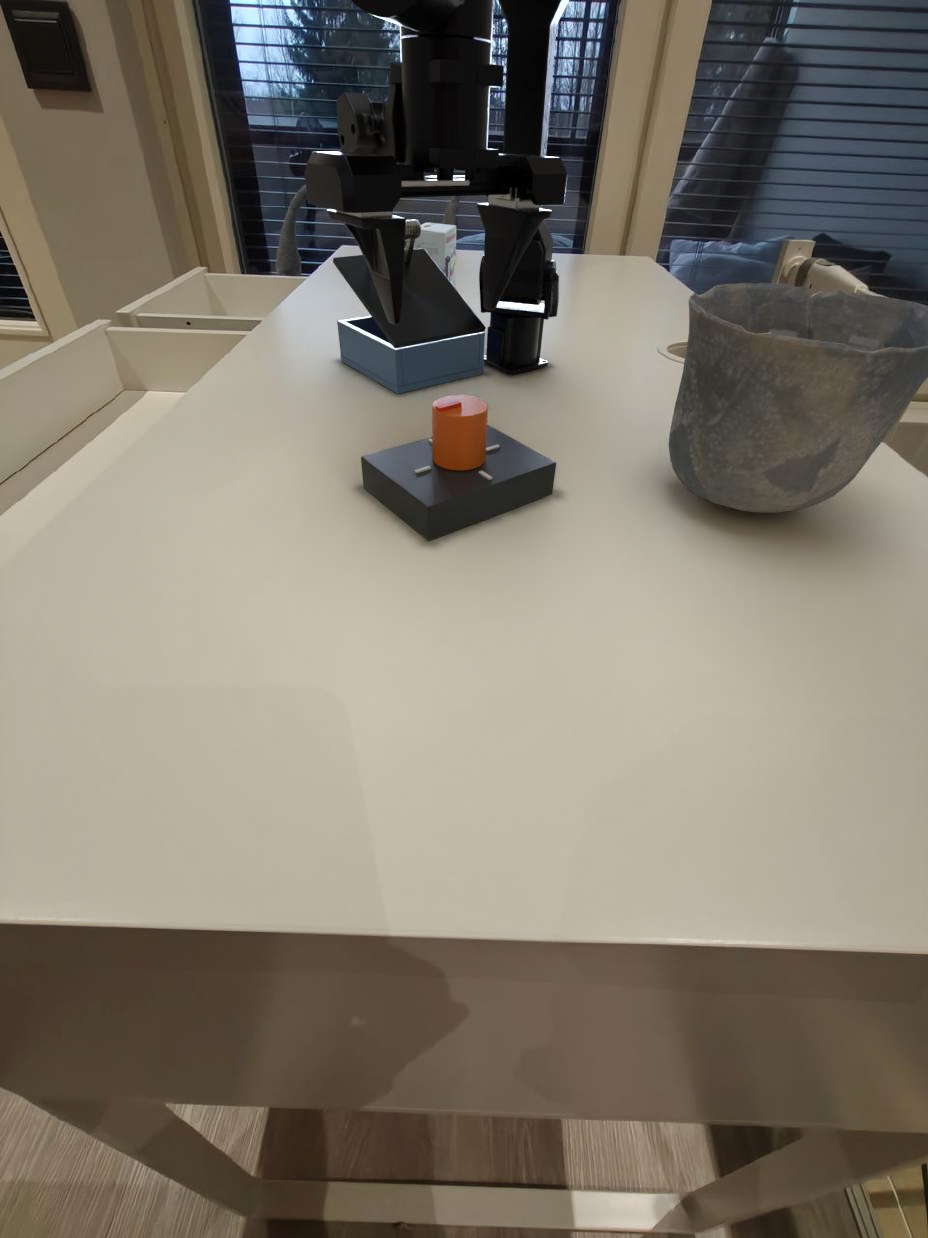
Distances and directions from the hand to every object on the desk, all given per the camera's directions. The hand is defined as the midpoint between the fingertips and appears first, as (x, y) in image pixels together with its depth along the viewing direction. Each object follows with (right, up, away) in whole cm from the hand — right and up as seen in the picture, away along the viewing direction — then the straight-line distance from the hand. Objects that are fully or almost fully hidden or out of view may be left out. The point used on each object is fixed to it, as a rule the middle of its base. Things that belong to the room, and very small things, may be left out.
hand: (443, 316), depth 47 cm
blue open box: (-5, +8, +28) cm, 30 cm away
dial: (+1, -11, +2) cm, 11 cm away
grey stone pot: (+27, -13, +5) cm, 30 cm away
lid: (-5, +14, +23) cm, 27 cm away
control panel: (+1, -13, +4) cm, 14 cm away
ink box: (-3, +24, +47) cm, 53 cm away
